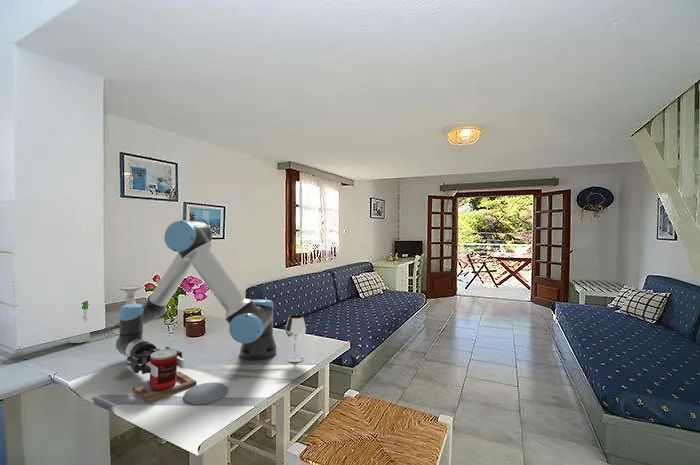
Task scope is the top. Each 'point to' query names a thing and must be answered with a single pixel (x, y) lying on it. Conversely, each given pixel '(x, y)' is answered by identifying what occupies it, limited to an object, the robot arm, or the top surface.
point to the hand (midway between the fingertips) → (170, 368)
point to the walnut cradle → (152, 397)
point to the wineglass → (295, 330)
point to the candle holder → (130, 295)
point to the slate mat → (205, 393)
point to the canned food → (164, 369)
